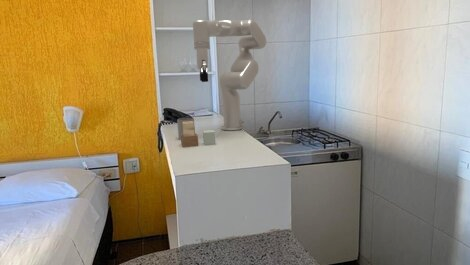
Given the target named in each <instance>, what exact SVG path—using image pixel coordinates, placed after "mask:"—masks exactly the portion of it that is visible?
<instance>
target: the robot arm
mask: <svg viewBox="0 0 470 265" xmlns="http://www.w3.org/2000/svg"><path fill="white" fill-rule="evenodd" d="M192 30H193V31H192V32H193V47H194V48H193V49H194V50H196V66H197V67H196V68H197V69H196V70H199V80H200V81H201V83H205V82H209V74H208V69H209V56H208V55H209V54H208V50H210V49H211V46H210V38H211V37H212V38H213V37H215V38H216V37H219V38H220V37H221V38H222V37H223V38H226V37H239V40H238V50H239V54H238V56H237V57H236V59H235V60H234V62H232V65H231V66H230V71H226V72H223V73H222V74H221V75H220V77H219V85H220V90H221V95H222V115H223V116H222V117H223V125H222V126H221V127H220V128H221V129H220V130H222V131H239V130H243V129H244V128H245V127H244V125H242V124H244V123H245V119H241V100H240V99H241V98H240V95H239V92H238V90H246V89H248V88H249V87H250V86H251V85H252V83H253V82H254V80H255V78H256V77H257V75H258V73H259V63H258V61H256V60H255V59H254V57H253V55H252V53H251V51H250V50H260V49H261V50H262V49H263V48H265V47H266V45H267V37H266V36H265V35H266V34H264V32H263V30H262V29H261V26H259V24H258V23H257V22H256V21H255V20H254V19H250V18H249V19H241V20H240V19H239V20H232V19H226V20H225V19H224V20H219V21H218V20H216V19H215V20H213V19H211V20H206V19H197V20H194V21H193V23H192Z"/></svg>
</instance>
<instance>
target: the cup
mask: <svg viewBox="0 0 470 265" xmlns="http://www.w3.org/2000/svg"><path fill="white" fill-rule="evenodd" d="M189 121H193V122H194V123H195V118H194V117H182V118H181V117H180V118H177V131H178V132H177V133H178V134H177V135H178V140H180V141H181V134H183V122H189ZM194 133H196V130H195V125H194Z"/></svg>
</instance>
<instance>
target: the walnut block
mask: <svg viewBox="0 0 470 265" xmlns="http://www.w3.org/2000/svg"><path fill="white" fill-rule="evenodd" d="M180 142H181V144H180V145H181V146H182V147H183V148H191V147H192V148H193V147H198V146H199V136H198V134H197V133H196V132H195V133H194V136H185V137H184V136H183V134H181V140H180Z"/></svg>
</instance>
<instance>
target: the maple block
mask: <svg viewBox="0 0 470 265" xmlns="http://www.w3.org/2000/svg"><path fill="white" fill-rule="evenodd" d="M194 126H195V121H194V122H193V121H189V122H183V136H184V137H185V136H194Z"/></svg>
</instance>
